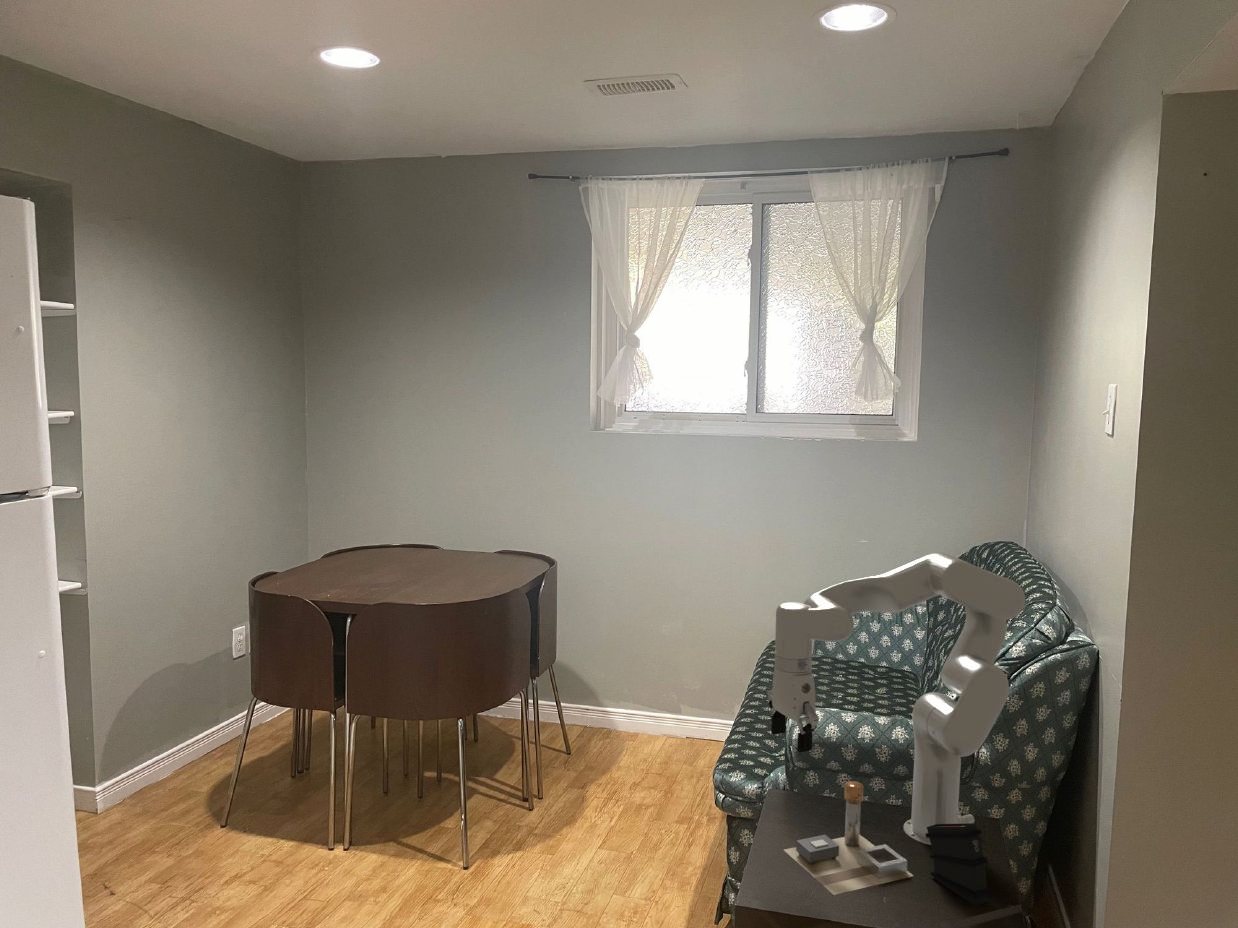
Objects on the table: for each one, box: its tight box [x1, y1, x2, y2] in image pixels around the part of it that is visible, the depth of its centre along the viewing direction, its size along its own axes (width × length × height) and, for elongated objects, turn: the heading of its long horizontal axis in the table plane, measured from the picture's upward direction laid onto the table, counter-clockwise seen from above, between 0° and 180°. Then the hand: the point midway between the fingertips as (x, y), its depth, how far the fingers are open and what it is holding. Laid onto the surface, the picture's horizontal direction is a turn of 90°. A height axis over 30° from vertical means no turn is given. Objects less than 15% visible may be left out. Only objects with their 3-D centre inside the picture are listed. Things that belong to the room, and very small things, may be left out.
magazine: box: [925, 822, 991, 906], centre depth 184 cm, size 4×13×15 cm, turn 27°
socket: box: [857, 844, 908, 879], centre depth 191 cm, size 7×7×2 cm
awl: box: [843, 780, 864, 847], centre depth 200 cm, size 4×4×13 cm
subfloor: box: [783, 833, 914, 896], centre depth 193 cm, size 19×18×1 cm
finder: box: [795, 834, 839, 864], centre depth 195 cm, size 7×5×3 cm
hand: (791, 741), depth 198 cm, fingers open, 9 cm apart
